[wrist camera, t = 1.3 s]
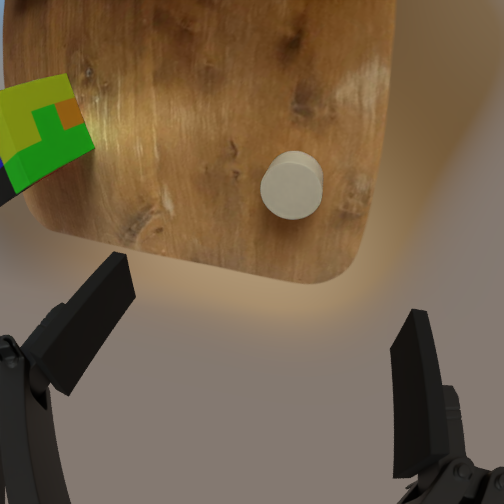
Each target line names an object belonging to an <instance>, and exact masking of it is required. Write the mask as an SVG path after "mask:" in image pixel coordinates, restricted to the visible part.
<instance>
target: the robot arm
mask: <svg viewBox="0 0 504 504" xmlns="http://www.w3.org/2000/svg"><path fill="white" fill-rule="evenodd" d="M135 298H136V295H135V291H134V287H133V283H132V278H131V274H130V270H129V266H128V260H127V255H126V254H123V253H118V252H113V253H112V254H111V255H110V256H109V257H108V258H107V259H106V260H105V261H104V262H103V263H102V264H101V265H100V266H99V268H98V269H97V270H96V271H95V272H94V273H93V274H92V275H91V276H90V277H89V278H88V279H87V281H86V282H85V283H84V284H83V285H82V286H81V287H80V288H79V290H78V291H77V292H76V293H75V294H74V295H73V296H72V298H71V299H70V300H69V301H68V302H67V303H66V304H64V303H60V304H59V305H57V306H56V307H54V308H53V309H52V310H51V311H50V312H49V313H48V314H47V316H46V318H44V319H43V320H42V322H41V324H40V325H38V326H37V328H36V329H35V330H34V331H33V332H32V334H31V335H30V336H29V337H28V339H27V340H26V341H25V342H24V344H23V345H22V346H21V347H19V346H18V344H17V343H16V341H15V340H14V338H13V337H12V336H10V335H3V336H0V504H5V487H6V492H7V498H8V503H9V504H71V502H70V498H69V495H68V491H67V487H66V484H65V480H64V475H63V471H62V467H61V462H60V458H59V452H58V447H57V441H56V436H55V429H54V423H53V415H52V407H51V397H50V390H49V387H48V385H49V384H50V382H51V384H52V385H53V386H54V387H55V389H56V390H58V391H60V392H61V393H63V394H65V395H67V396H69V395H70V394H71V392H72V390H73V389H74V387H75V386H76V384H77V383H78V381H79V379H80V378H81V376H82V375H83V373H84V372H85V370H86V369H87V367H88V365H89V364H90V362H91V361H92V360H93V358H94V356H95V355H96V354H97V352H98V350H99V349H100V348H101V346H102V345H103V343H104V342H105V340H106V338H107V337H108V336H109V334H110V333H111V331H112V330H113V329H114V327H115V326H116V324H117V323H118V321H119V320H120V319H121V317H122V316H123V314H124V313H125V311H126V310H127V309H128V307H129V306H130V304H131V303H132V302H133V300H134V299H135ZM390 354H391V366H392V382H393V403H394V466H393V478H411V477H413V476H415V475H416V474H418V480H417V481H416V482H414V483H412V484H410V485H408V486H407V487H406V489H409V488H410V489H409V490H408V492H407V493H406V494H405V495H404V496H403V497H402V498H401V500H400V501H399V502H398V503H397V504H504V467H498V468H496V469H494V470H493V471H489V470H485V469H482V468H478V467H475V466H474V464H473V462H472V461H471V459H469V458H467V456H466V452H465V442H464V433H463V425H462V420H461V411H460V404H459V398H458V395H457V393H456V392H455V389H454V388H453V386H448V385H442V381H441V375H440V369H439V364H438V358H437V354H436V349H435V345H434V339H433V335H432V330H431V327H430V322H429V318H428V314H427V311H424V310H417V309H411V311H410V313H409V315H408V317H407V319H406V321H405V323H404V325H403V326H402V328H401V330H400V332H399V334H398V336H397V337H396V339H395V341H394V343H393V345H392V346H391V348H390Z"/></svg>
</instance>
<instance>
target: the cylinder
mask: <svg viewBox="0 0 504 504" xmlns="http://www.w3.org/2000/svg"><path fill="white" fill-rule="evenodd" d="M260 191H261V197H262V199H263V202H264V203H265V205H266V206H267V208H268V209H269V210H270V211H271V212H273V213H274V214H275V215H277V216H279V217H282V218H285V219H291V220H296V219H301V218H305V217H307V216H309V215H310V214H312V213H313V212H314V211H315V210H316V209H317V208H318V206H319V205H320V202H321V199H322V193H323V172H322V169H321V167H320V165H319V163H318V162H317V161H316V160H315V159H314V158H313V157H312V156H310V155H308V154H306V153H304V152H300V151H288V152H285V153H282V154H280V155H279V156H277V157H276V158H275V159H274V160H273V162H272V163H271V165H270V166H269V168H268V170H267V171H266V173H265V175H264V177H263V179H262V182H261V187H260Z"/></svg>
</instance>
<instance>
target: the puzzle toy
mask: <svg viewBox="0 0 504 504" xmlns="http://www.w3.org/2000/svg"><path fill="white" fill-rule="evenodd" d="M93 149H95V147H94V145H93V143H92V140H91V138H90V135H89V133H88V130H87V128H86V125H85V123H84V120H83V117H82V115H81V112H80V110H79V107H78V104H77V102H76V99H75V96H74V93H73V90H72V88H71V85H70V82H69V79H68V76H67V73H65V74H60V75H56V76H51V77H47V78H43V79H38V80H34V81H31V82H27V83H23V84H20V85H16V86H13V87H10V88H6V89H4V90H0V207H1V206H2V205H4V204H5V203H6V202H8V201H9V200H11V199H12V198H14V197H15V196H17V195H18V194H20V193H21V192H23V191H25V190H26V189H28V188H29V187H31V186H32V185H34V184H36V183H37V182H39V181H40V180H42V179H44V178H45V177H47V176H49V175H50V174H52V173H54V172H55V171H57V170H58V169H60V168H62V167H63V166H65V165H67V164H68V163H70V162H72V161H73V160H75V159H77V158H78V157H80V156H82V155H84V154H86V153H87V152H89V151H91V150H93Z"/></svg>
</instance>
